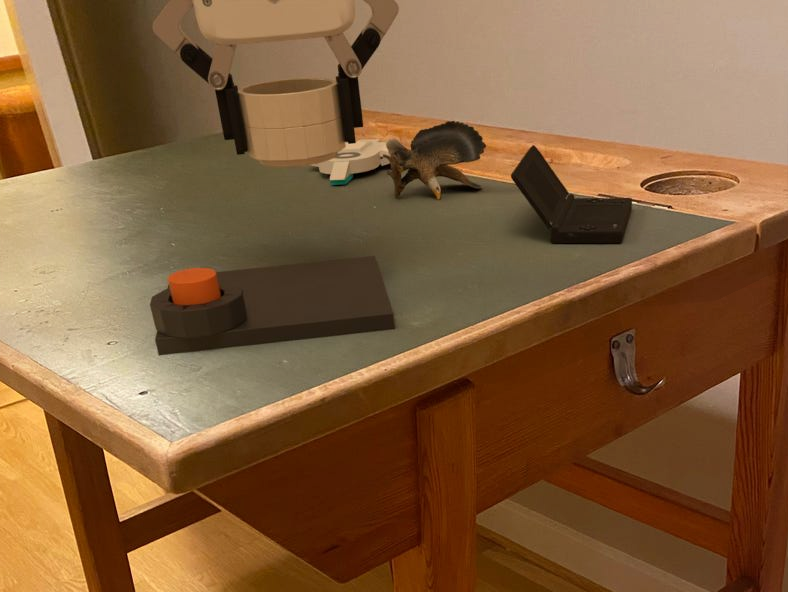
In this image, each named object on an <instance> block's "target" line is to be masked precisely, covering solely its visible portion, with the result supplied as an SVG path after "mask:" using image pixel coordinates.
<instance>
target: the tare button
mask: <svg viewBox="0 0 788 592" xmlns="http://www.w3.org/2000/svg"><path fill="white" fill-rule="evenodd" d="M216 272H217V271H216V270H214V269H212V268H207V267H194V268H186V269H181V270H178V271H175V272H173V273H171V274H170V275H168V277H167V281H168V284H169V286H170V291H171V295H172V299H173V303H174V304H177V305H194V304H204V303H207V302H211V301H214V300H217V299H219V298H220V297H221V294H220V289H219V284H218V279H217V274H216Z"/></svg>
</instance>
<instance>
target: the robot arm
mask: <svg viewBox="0 0 788 592" xmlns="http://www.w3.org/2000/svg"><path fill="white" fill-rule="evenodd" d="M363 2H365V3H366V5H368V6H369V7H370V10H371V15H370V17H369V19H368V21H367V23H366V24H365V26H364V27H363V29H362V30H361V31H360V32H359V34H358V35H357V37H356V39H355V40H354V41H353V42H352V44H350V42H349V41H348V38H347V37H346V36H345V34H344V33H345V32H346V31H347V30H349V29H350V28H352V25H353V24H354V22H355V17H356V15H355V14H356V7H355V5H356V4H355V0H168V2H167V3H166V4H165V6H164V7H163V8H162V9H161V11H160V12H159V14H158V15H157V16H156V18H155V19H154V21H153V22H152V26H151V28H152V32H153V33H154V35H155V36H156V37H158V38H159V39H160V40H161V42H162V43H164V44H165V46H167V47H168V48H169V49H170V50H171V51H172V52H173V53H174V54H175V55H177V57H178V58H180V60H181V61H182V62H183V64H185V65H186V66H187V67H188V68H189V69H191V70H192V71H193V72H194V73H196V74H197V75H198V76H199V77H200V78H201V79H203V80H204V81H205V82H206V83H207V84H208V85H209V87H210V88H212V89H213V90H214V93H215V97H216V103H217V109H218V113H219V118H220V124H221V129H222V134H223V139H224V141H230V140H231V141H234V146H235V147H234V148H235V151H236V156H240V155H245V153H248V152H247V145H246V140H245V134H244V129H243V123H242V118H241V112H240V106H239V101H238V95H237V90H238V89H239V88H238V85H237V84H236V85H235V82H234V79H233V74H231V73H230V72H231V68H232V64H233V60H234V57H235V52H236V49H237V46H238V45H250V44H251V45H252V44H261V43H262V44H263V43H272V42H273V43H274V42H286V41H287V42H288V41H296V40H309V39H318V38H324V40H325V42H326V43H327V45H328V46H329V48H330V50H331V51H332V53H333V55H334V57H335V58H336V60H337V62H338V65H337V72H338V73H337V75H336V76H335V80H336V81H337V83H338V90H339V98H340V106H341V114H342V122H343V130H344V138H345V143H346V142H348V144H353V143H356V142H357V140H356V132H355V129H357V128H363V127H364V119H363V110H362V100H361V92H360V84H359V83H360V82H359V76H360V75H361V73H362V71H363V69H364V68H365V66H366V65H367V63H369V60H370V59H371V58H372V57H373V55H374V54H375V52H376V50H378V48H379V47H380V44H381V42H382V40H383V38H384V37H385V35H386V34H387V32H388V30H389V29H390V27H391V25H392V24H393V22H394V21H395V19H396V17H397V16H398V14H399V11H400V10H399V9H400V7H399V5H398V3H397V2H396V0H363ZM192 8H193V9H194V14H195V18H196V22H197V25H198V28H199V29H198V30H199V31H200V33H201V34H202V36H203V37H204V38H205V39H206V40H207V41H210V42H212V43H214V44H215V46H214V47H215V48H214V52H213V56H210V55H209V53H207V52H205V50H203V49H202V48H201V47H200V46H199V45H198V44H196V43H195V42H194V41H192V40H191V38H189V37H188V35H187V34H186V33H185V32H184V30H183V29H182V27H181V25H182V21H183V20H184V18H186V16H187V14H188V13H190V10H191V9H192Z"/></svg>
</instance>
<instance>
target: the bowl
mask: <svg viewBox="0 0 788 592" xmlns="http://www.w3.org/2000/svg"><path fill="white" fill-rule="evenodd" d="M237 95H238V101H239V106H240V112H241V118H242V123H243V129H244V134H245V140H246V145H247V152H246V153H247V156H248V157H249V158H251V159H254V160H256V161H258V163H259V164H260V165H263V166H266V167H274V168H291V167H293V168H294V167H303V166H311V164H316V163H321V162H325V161H328V160H331V159H333V158H335V157H336V156H337V155H338V151H341V150H342V149H344V148H345V147H346V145H345V143H346V142H345V138H344V130H343V122H342V114H341V106H340V98H339V90H338V83H337V81H336V79H332V78H326V77H298V78H297V77H296V78H286V79H276V80H268V81H262V82H256V83H252V84H248V85H244V86H242V87H240V88H238V90H237Z"/></svg>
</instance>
